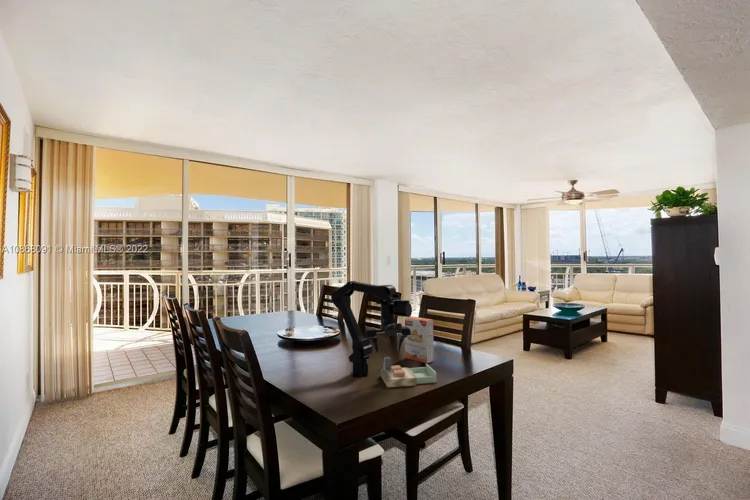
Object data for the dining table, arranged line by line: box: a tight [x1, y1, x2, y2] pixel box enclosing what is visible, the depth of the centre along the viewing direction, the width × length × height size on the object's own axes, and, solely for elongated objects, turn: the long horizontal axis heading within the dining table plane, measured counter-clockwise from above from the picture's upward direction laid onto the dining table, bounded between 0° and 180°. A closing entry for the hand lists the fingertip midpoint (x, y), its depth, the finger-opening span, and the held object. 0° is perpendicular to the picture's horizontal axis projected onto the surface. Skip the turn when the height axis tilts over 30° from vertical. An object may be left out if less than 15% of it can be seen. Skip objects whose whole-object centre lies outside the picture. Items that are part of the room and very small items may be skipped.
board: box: [380, 367, 417, 388], centre depth 158 cm, size 12×14×3 cm
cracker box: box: [404, 315, 435, 365], centre depth 187 cm, size 14×6×21 cm, turn 45°
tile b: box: [391, 364, 403, 372], centre depth 162 cm, size 4×4×2 cm
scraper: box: [382, 356, 392, 378], centre depth 158 cm, size 2×11×6 cm, turn 9°
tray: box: [408, 363, 438, 385], centre depth 161 cm, size 8×13×4 cm, turn 10°
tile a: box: [393, 369, 405, 377], centre depth 156 cm, size 4×4×2 cm
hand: (387, 352), depth 158 cm, fingers open, 9 cm apart
